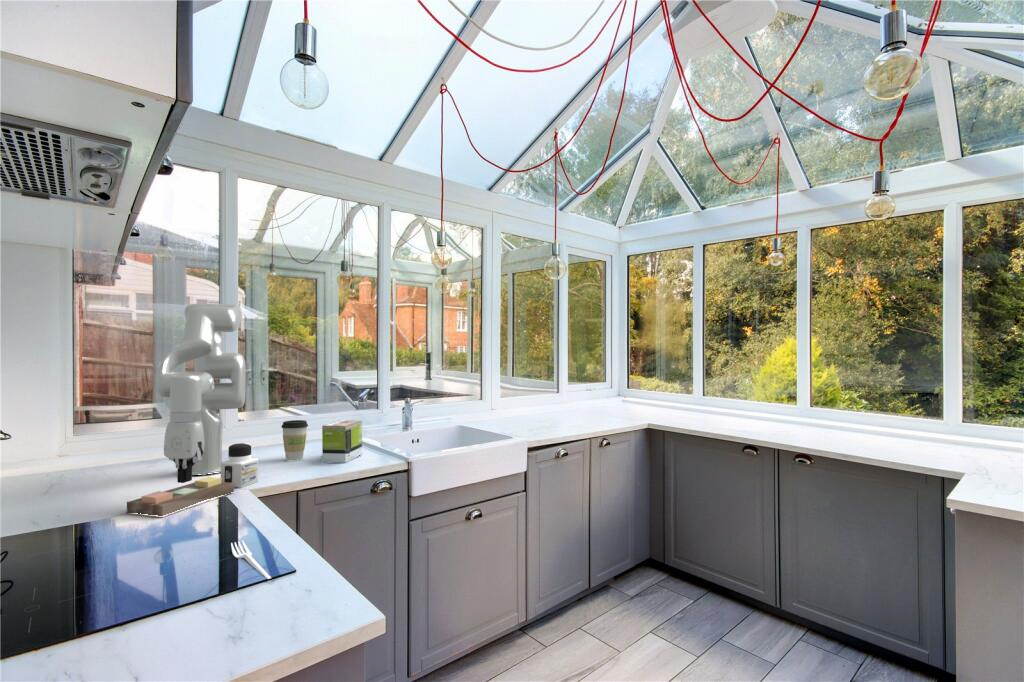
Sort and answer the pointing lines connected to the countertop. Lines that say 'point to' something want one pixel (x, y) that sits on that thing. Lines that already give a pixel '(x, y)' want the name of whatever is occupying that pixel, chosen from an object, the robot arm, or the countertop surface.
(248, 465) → the container
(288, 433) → the coffee cup
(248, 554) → the fork
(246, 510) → the countertop surface
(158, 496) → the terracotta key
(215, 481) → the ochre key
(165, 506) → the key panel
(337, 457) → the tea box
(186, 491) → the sage key
